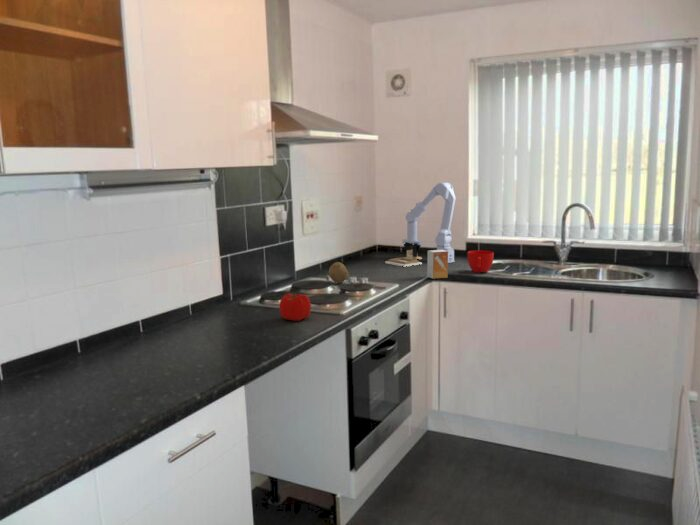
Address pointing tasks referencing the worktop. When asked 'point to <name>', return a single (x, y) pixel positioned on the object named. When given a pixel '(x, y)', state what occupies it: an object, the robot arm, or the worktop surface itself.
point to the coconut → (338, 272)
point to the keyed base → (403, 262)
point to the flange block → (410, 255)
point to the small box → (437, 264)
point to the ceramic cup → (480, 260)
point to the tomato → (295, 307)
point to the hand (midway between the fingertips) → (412, 256)
